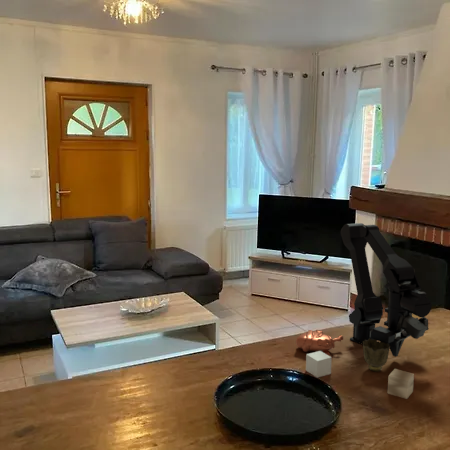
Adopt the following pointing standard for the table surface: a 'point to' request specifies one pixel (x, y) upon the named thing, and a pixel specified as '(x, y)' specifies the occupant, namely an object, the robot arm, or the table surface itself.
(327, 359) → the grey block
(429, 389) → the table surface
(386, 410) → the table surface
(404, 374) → the birch block
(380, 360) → the cup
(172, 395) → the table surface
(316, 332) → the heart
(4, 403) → the table surface
